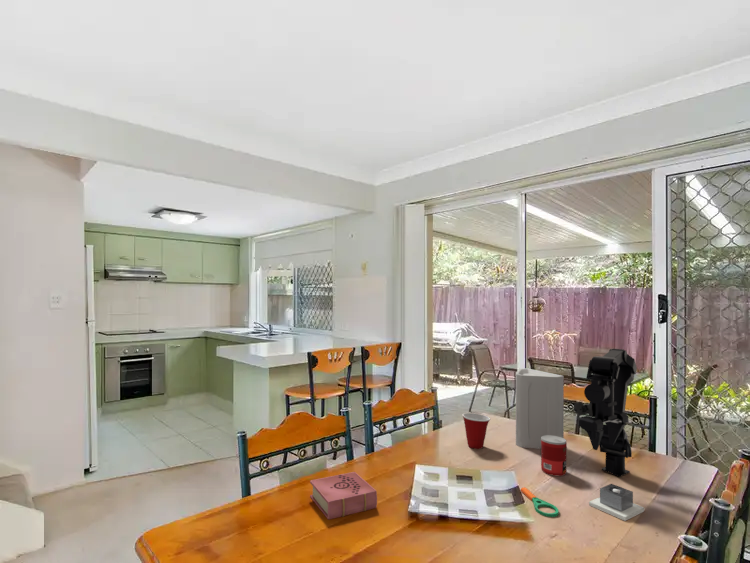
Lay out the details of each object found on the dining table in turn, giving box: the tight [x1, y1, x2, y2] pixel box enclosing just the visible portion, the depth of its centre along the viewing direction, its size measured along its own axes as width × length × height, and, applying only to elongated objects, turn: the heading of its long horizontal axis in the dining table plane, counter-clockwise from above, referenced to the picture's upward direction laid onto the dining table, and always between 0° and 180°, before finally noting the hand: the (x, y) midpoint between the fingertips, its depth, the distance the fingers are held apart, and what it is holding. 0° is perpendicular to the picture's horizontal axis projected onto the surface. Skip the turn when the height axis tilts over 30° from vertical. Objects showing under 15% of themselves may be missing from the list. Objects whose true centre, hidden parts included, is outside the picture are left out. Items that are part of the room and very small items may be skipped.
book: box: [309, 471, 378, 520], centre depth 124 cm, size 14×15×5 cm
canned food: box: [540, 435, 568, 477], centre depth 148 cm, size 8×8×11 cm
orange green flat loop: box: [520, 486, 560, 518], centre depth 125 cm, size 15×6×2 cm, turn 12°
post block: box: [588, 489, 645, 522], centre depth 123 cm, size 10×10×5 cm
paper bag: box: [515, 367, 565, 450], centre depth 176 cm, size 19×15×28 cm
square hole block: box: [599, 483, 634, 512], centre depth 123 cm, size 6×6×4 cm
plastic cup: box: [461, 412, 491, 450], centre depth 171 cm, size 11×11×12 cm
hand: (603, 447), depth 137 cm, fingers open, 9 cm apart
